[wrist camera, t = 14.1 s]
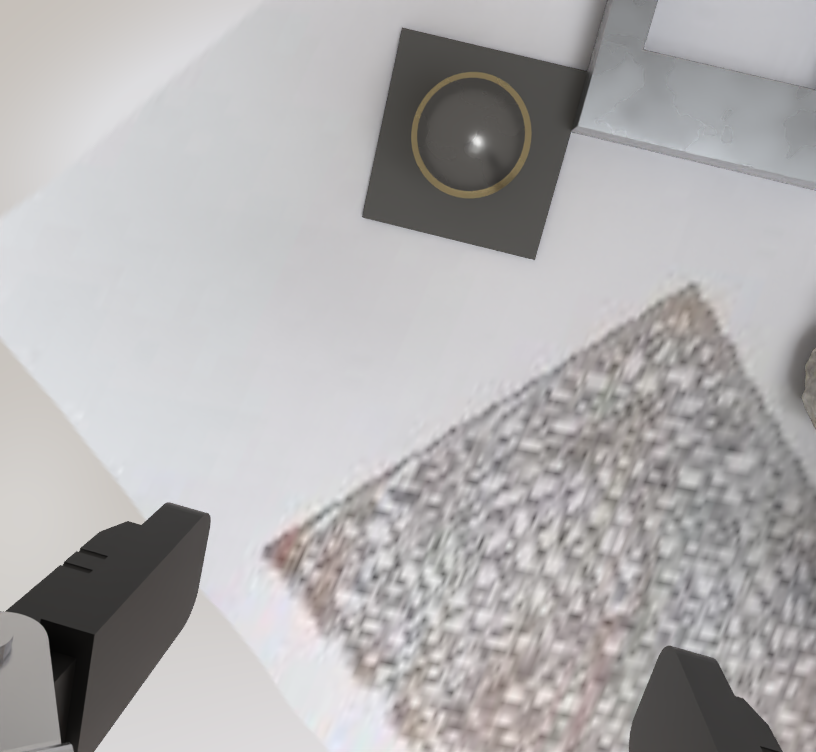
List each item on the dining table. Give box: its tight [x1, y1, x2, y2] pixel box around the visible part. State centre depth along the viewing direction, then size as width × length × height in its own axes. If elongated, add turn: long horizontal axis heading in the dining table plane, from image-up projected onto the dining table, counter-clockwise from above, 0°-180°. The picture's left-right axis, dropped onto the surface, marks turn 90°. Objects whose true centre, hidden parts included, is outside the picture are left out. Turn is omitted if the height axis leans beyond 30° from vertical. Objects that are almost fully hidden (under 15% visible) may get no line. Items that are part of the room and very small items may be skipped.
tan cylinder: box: [411, 72, 532, 198], centre depth 33 cm, size 5×5×10 cm
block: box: [571, 0, 816, 190], centre depth 33 cm, size 14×14×3 cm
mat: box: [362, 28, 588, 260], centre depth 38 cm, size 10×10×1 cm
